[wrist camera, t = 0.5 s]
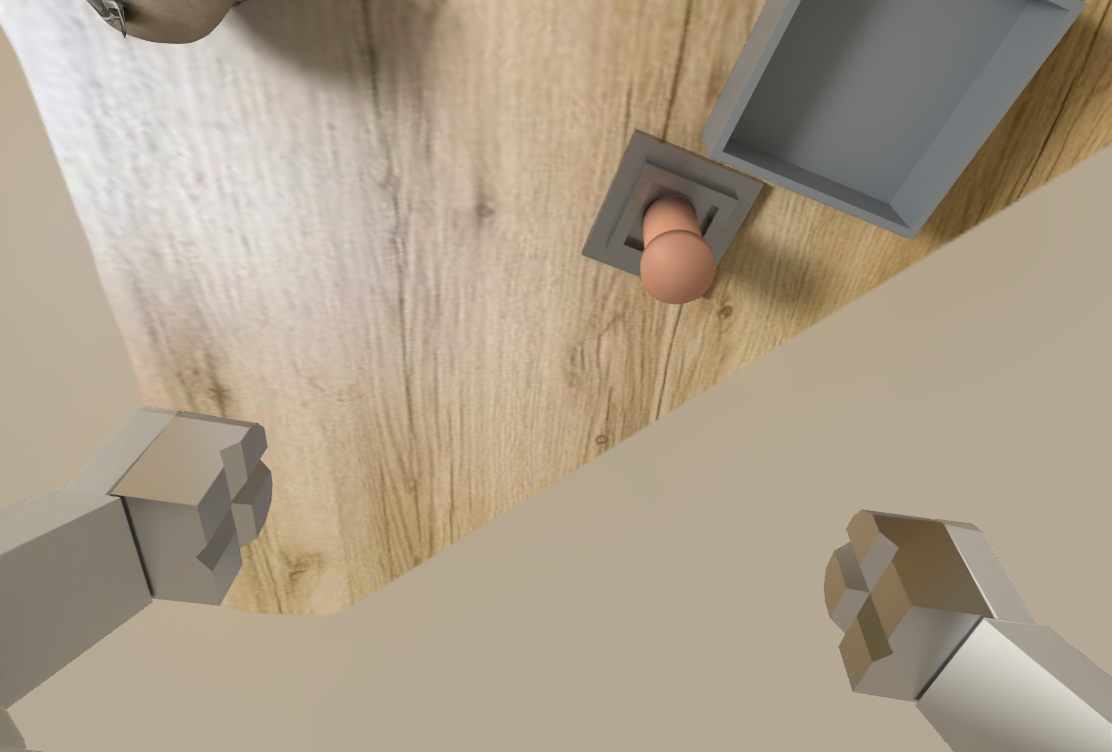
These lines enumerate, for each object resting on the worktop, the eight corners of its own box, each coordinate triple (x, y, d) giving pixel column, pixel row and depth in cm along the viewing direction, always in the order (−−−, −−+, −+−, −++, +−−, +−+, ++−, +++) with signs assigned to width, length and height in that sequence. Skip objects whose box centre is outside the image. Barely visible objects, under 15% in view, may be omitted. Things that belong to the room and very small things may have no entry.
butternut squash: (653, 180, 50) (660, 226, 44) (713, 204, 51) (729, 253, 44) (626, 237, 53) (628, 289, 46) (684, 259, 54) (694, 313, 47)
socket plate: (635, 129, 49) (635, 136, 48) (762, 181, 51) (766, 189, 49) (582, 250, 55) (581, 260, 53) (697, 293, 56) (700, 305, 55)
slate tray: (824, -115, 40) (847, -115, 36) (1041, -9, 43) (1087, 4, 39) (701, 133, 49) (709, 156, 45) (888, 211, 51) (912, 239, 47)
